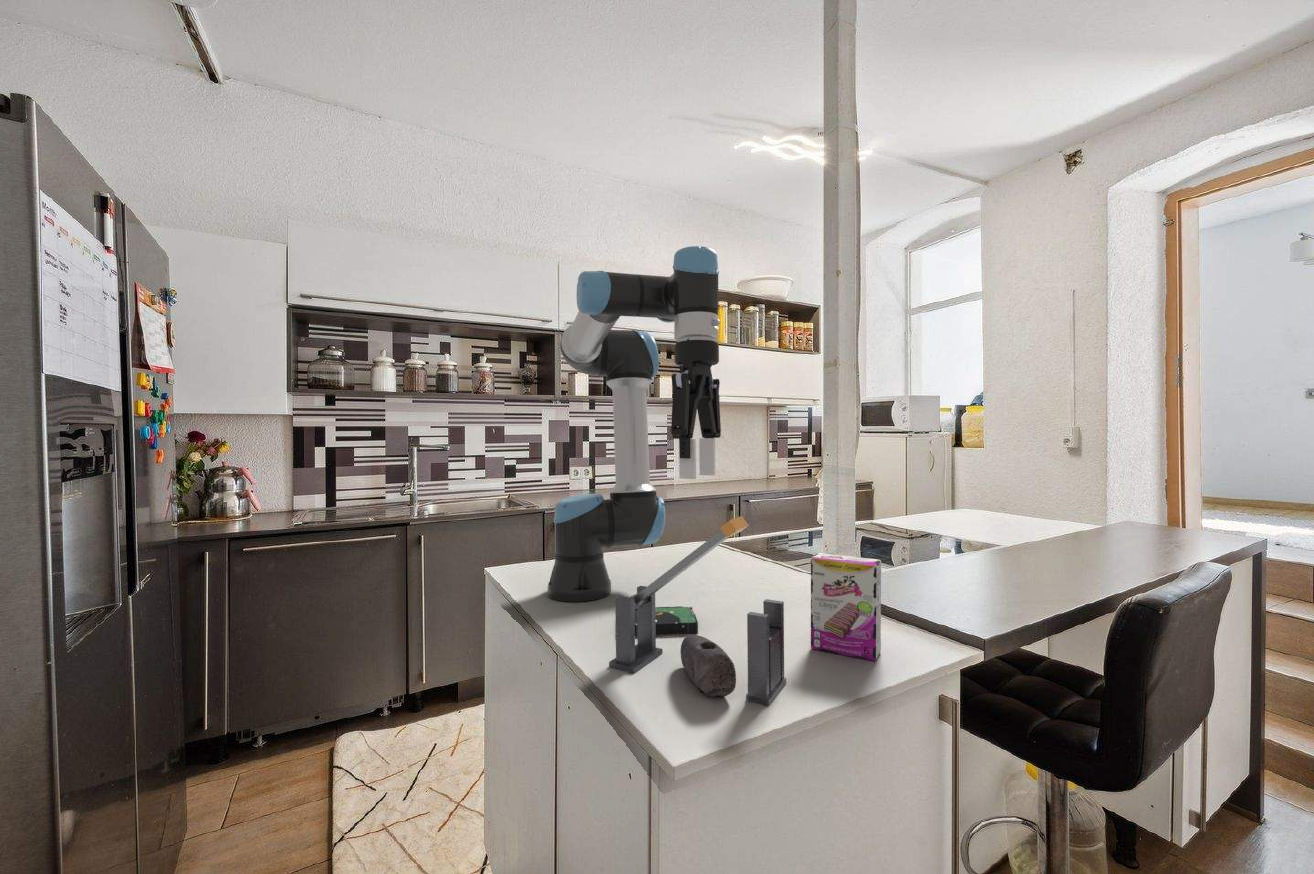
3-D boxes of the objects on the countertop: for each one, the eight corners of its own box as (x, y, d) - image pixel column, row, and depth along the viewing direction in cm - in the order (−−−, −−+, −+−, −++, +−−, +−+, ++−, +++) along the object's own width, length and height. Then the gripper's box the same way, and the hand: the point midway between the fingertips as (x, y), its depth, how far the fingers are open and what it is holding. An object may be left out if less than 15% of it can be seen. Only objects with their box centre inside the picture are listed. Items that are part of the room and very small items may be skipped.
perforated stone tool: (671, 665, 91) (671, 623, 91) (700, 661, 93) (700, 620, 93) (705, 709, 77) (704, 659, 77) (739, 703, 78) (739, 654, 78)
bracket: (638, 647, 98) (637, 584, 98) (662, 653, 96) (661, 587, 96) (609, 666, 91) (608, 597, 91) (634, 673, 88) (633, 601, 88)
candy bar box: (809, 650, 97) (809, 557, 97) (817, 640, 101) (816, 551, 101) (877, 663, 91) (876, 564, 91) (882, 652, 95) (881, 558, 95)
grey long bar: (642, 606, 95) (635, 595, 96) (749, 526, 85) (741, 514, 86) (627, 614, 91) (620, 602, 92) (737, 531, 81) (729, 519, 82)
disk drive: (621, 640, 104) (699, 635, 105) (621, 625, 104) (698, 621, 105) (621, 621, 114) (692, 617, 115) (621, 607, 114) (691, 604, 115)
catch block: (764, 678, 86) (764, 598, 86) (786, 683, 84) (785, 601, 84) (745, 700, 79) (745, 613, 79) (768, 705, 77) (768, 617, 77)
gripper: (689, 330, 83) (691, 482, 83) (739, 347, 100) (740, 473, 100) (647, 335, 87) (648, 480, 87) (702, 350, 104) (703, 472, 104)
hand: (697, 476), depth 93 cm, fingers open, 7 cm apart
